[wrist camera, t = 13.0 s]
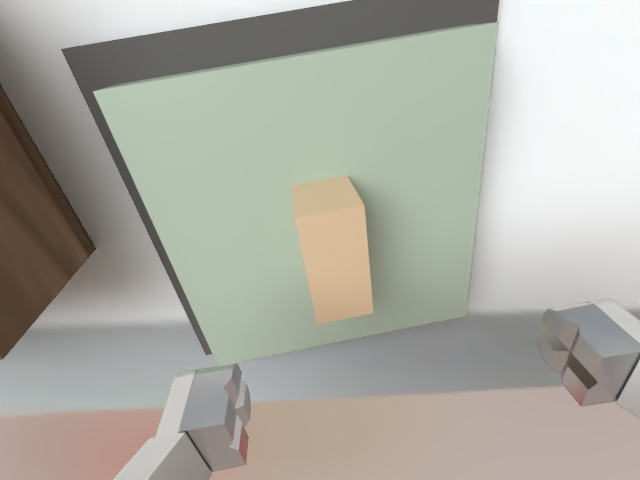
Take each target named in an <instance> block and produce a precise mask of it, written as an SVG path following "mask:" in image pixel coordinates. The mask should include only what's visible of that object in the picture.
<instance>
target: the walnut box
mask: <svg viewBox="0 0 640 480" xmlns="http://www.w3.org/2000/svg"><path fill="white" fill-rule="evenodd" d="M95 249H96V248H95V247H94V245H93V243H92V241H91V240H90V238H89V236H88V235H87V233H86V231H85V229H84V228H83V226H82V224H81V223H80V221H79V219H78V217H77V216H76V214H75V212H74V211H73V209H72V207H71V205H70V204H69V202H68V200H67V199H66V197H65V195H64V193H63V192H62V190H61V188H60V187H59V185H58V183H57V181H56V180H55V178H54V176H53V175H52V173H51V171H50V169H49V168H48V166H47V164H46V163H45V161H44V159H43V157H42V156H41V154H40V152H39V151H38V149H37V147H36V145H35V144H34V142H33V140H32V139H31V137H30V135H29V133H28V132H27V130H26V128H25V127H24V125H23V123H22V121H21V120H20V118H19V116H18V115H17V113H16V111H15V109H14V108H13V106H12V104H11V103H10V101H9V99H8V97H7V96H6V94H5V92H4V91H3V89H2V87H1V85H0V360H1V359H4V357H5V356H6V355H7V354H8V353H9V351H10V350H11V349H12V348H13V347H14V345H15V344H16V343H17V342H18V341H19V339H20V338H21V337H22V336H23V335H24V334H25V332H26V331H27V330H28V329H29V328H30V326H31V325H32V324H33V323H34V322H35V320H36V319H37V318H38V317H39V316H40V314H41V313H42V312H43V311H44V310H45V308H46V307H47V306H48V305H49V304H50V303H51V301H52V300H53V299H54V298H55V297H56V295H57V294H58V293H59V292H60V291H61V289H62V288H63V287H64V286H65V285H66V283H67V282H68V281H69V280H70V279H71V277H72V276H73V275H74V274H75V273H76V272H77V270H78V269H79V268H80V267H81V266H82V264H83V263H84V262H85V261H86V260H87V258H88V257H89V256H90V255H91V254H92V252H93V251H94V250H95Z"/></svg>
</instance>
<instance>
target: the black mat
mask: <svg viewBox="0 0 640 480" xmlns="http://www.w3.org/2000/svg"><path fill="white" fill-rule="evenodd" d="M498 4H499V0H352V1H346V2H340V3H334V4H328V5H322V6H316V7H310V8H304V9H298V10H292V11H286V12H280V13H274V14H268V15H262V16H256V17H250V18H244V19H238V20H232V21H226V22H220V23H214V24H208V25H202V26H196V27H190V28H185V29H179V30H173V31H167V32H161V33H155V34H149V35H143V36H137V37H131V38H125V39H119V40H113V41H107V42H101V43H95V44H89V45H83V46H77V47H71V48H65V49H61V50H62V52H63V54H64V56H65V58H66V60H67V62H68V64H69V67H70V69H71V71H72V73H73V75H74V77H75V79H76V81H77V83H78V86H79V88H80V90H81V92H82V94H83V96H84V98H85V100H86V102H87V105H88V107H89V109H90V111H91V113H92V115H93V117H94V119H95V122H96V124H97V126H98V128H99V130H100V132H101V134H102V136H103V138H104V141H105V143H106V145H107V147H108V149H109V151H110V153H111V155H112V157H113V160H114V162H115V164H116V166H117V168H118V170H119V172H120V174H121V176H122V179H123V181H124V183H125V185H126V187H127V189H128V191H129V193H130V195H131V198H132V200H133V202H134V204H135V206H136V208H137V210H138V212H139V214H140V217H141V219H142V221H143V223H144V225H145V227H146V229H147V231H148V233H149V236H150V238H151V240H152V242H153V244H154V246H155V248H156V250H157V252H158V255H159V257H160V259H161V261H162V263H163V265H164V267H165V269H166V271H167V274H168V276H169V278H170V280H171V282H172V284H173V286H174V288H175V291H176V293H177V295H178V297H179V299H180V301H181V303H182V305H183V307H184V310H185V312H186V314H187V316H188V318H189V320H190V322H191V324H192V326H193V329H194V331H195V333H196V335H197V337H198V339H199V341H200V343H201V345H202V348H203V350H204V352H205V354H206V355H209V354H212V352H211V350H210V347H209V345H208V343H207V341H206V339H205V336H204V334H203V332H202V330H201V328H200V326H199V323H198V321H197V319H196V317H195V315H194V312H193V310H192V308H191V306H190V304H189V301H188V299H187V297H186V295H185V293H184V290H183V288H182V286H181V284H180V282H179V279H178V277H177V275H176V273H175V271H174V269H173V266H172V264H171V262H170V260H169V258H168V255H167V253H166V251H165V249H164V247H163V244H162V242H161V240H160V238H159V236H158V233H157V231H156V229H155V227H154V225H153V222H152V220H151V218H150V216H149V214H148V211H147V209H146V207H145V205H144V203H143V201H142V198H141V196H140V194H139V192H138V190H137V187H136V185H135V183H134V181H133V179H132V176H131V174H130V172H129V170H128V168H127V165H126V163H125V161H124V159H123V157H122V154H121V152H120V150H119V148H118V146H117V143H116V141H115V139H114V137H113V135H112V133H111V130H110V128H109V126H108V124H107V122H106V119H105V117H104V115H103V113H102V111H101V108H100V106H99V104H98V102H97V100H96V97H95V95H94V93H93V91H96V90H100V89H103V88H107V87H110V86H114V85H117V84H122V83H128V82H134V81H140V80H145V79H151V78H157V77H163V76H169V75H175V74H181V73H187V72H192V71H198V70H204V69H210V68H216V67H222V66H228V65H233V64H239V63H245V62H251V61H257V60H263V59H269V58H275V57H280V56H286V55H292V54H298V53H304V52H310V51H316V50H321V49H327V48H333V47H339V46H345V45H351V44H357V43H363V42H368V41H374V40H380V39H386V38H392V37H398V36H404V35H410V34H415V33H421V32H427V31H433V30H439V29H445V28H451V27H456V26H462V25H471V24H483V23H495V22H497V13H498Z"/></svg>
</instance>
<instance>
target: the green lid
mask: <svg viewBox="0 0 640 480" xmlns="http://www.w3.org/2000/svg"><path fill="white" fill-rule="evenodd" d="M497 30H498V22H495V23H483V24H471V25H462V26H456V27H451V28H445V29H439V30H433V31H427V32H421V33H415V34H410V35H404V36H398V37H392V38H386V39H380V40H374V41H368V42H363V43H357V44H351V45H345V46H339V47H333V48H327V49H321V50H316V51H310V52H304V53H298V54H292V55H286V56H280V57H275V58H269V59H263V60H257V61H251V62H245V63H239V64H233V65H228V66H222V67H216V68H210V69H204V70H198V71H192V72H187V73H181V74H175V75H169V76H163V77H157V78H151V79H145V80H140V81H134V82H128V83H122V84H117V85H114V86H110V87H107V88H103V89H100V90H96V91H93V93H94V95H95V97H96V100H97V102H98V104H99V106H100V108H101V111H102V113H103V115H104V117H105V119H106V122H107V124H108V126H109V128H110V130H111V133H112V135H113V137H114V139H115V141H116V143H117V146H118V148H119V150H120V152H121V154H122V157H123V159H124V161H125V163H126V165H127V168H128V170H129V172H130V174H131V176H132V179H133V181H134V183H135V185H136V187H137V190H138V192H139V194H140V196H141V198H142V201H143V203H144V205H145V207H146V209H147V211H148V214H149V216H150V218H151V220H152V222H153V225H154V227H155V229H156V231H157V233H158V236H159V238H160V240H161V242H162V244H163V247H164V249H165V251H166V253H167V255H168V258H169V260H170V262H171V264H172V266H173V269H174V271H175V273H176V275H177V277H178V279H179V282H180V284H181V286H182V288H183V290H184V293H185V295H186V297H187V299H188V301H189V304H190V306H191V308H192V310H193V312H194V315H195V317H196V319H197V321H198V323H199V326H200V328H201V330H202V332H203V334H204V336H205V339H206V341H207V343H208V345H209V347H210V350H211V352H212V354H213V356H214V358H215V361H216V363H217V365H218V366H221V365H226V364H231V363H236V362H241V361H246V360H251V359H256V358H261V357H266V356H271V355H276V354H281V353H286V352H291V351H296V350H301V349H306V348H311V347H316V346H320V345H325V344H330V343H335V342H340V341H345V340H350V339H355V338H360V337H365V336H370V335H375V334H380V333H385V332H390V331H395V330H400V329H405V328H410V327H415V326H420V325H425V324H430V323H435V322H440V321H445V320H450V319H455V318H460V317H464V316H466V312H467V303H468V294H469V285H470V276H471V267H472V258H473V249H474V239H475V230H476V221H477V212H478V203H479V194H480V185H481V176H482V166H483V157H484V148H485V139H486V130H487V121H488V112H489V103H490V94H491V84H492V75H493V66H494V57H495V48H496V39H497Z"/></svg>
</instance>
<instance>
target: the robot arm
mask: <svg viewBox="0 0 640 480" xmlns="http://www.w3.org/2000/svg"><path fill="white" fill-rule="evenodd" d="M542 320H543V322H544V323H545V324H546V325H545V326H544V327H543V328H542V329H541V330H540V331H539V333H538V337H537V344H538V349H539V352H540V354H541V356H542V358H543V359H544V361H545V362H546V363H547V365H548V366H549V367H550V368H552V369H553V370H555V371H557V372H559V373H561V375H562V384H563V385H564V386H565V387H566V389H567V390H568V391H569V392H570V394H571V395H572V396H573V397H574V398H575V400H576V401H577V402H578V403H579V405H580V406H588V405H595V404H601V403H608V402H615V401H617V402H616V404H618V405H619V406H621V407H622V408H624V409H626V410H627V411H629V412H630V413H632V414H633V415H635V416H637V417H638V418H640V321H639V320H638V319H637V318H635V317H634V316H633V315H632V314H630V313H629V312H628V311H627V310H625V309H624V308H623V307H622V306H620V305H619V304H618V303H617V302H615V301H613V300H610V299H603V300H597V301H591V302H586V303H585V302H583V303H578V304H573V305H567V306H562V307H557V308H551V309H548V310H547V311H546V312H545V313H544V315H543V319H542ZM250 413H251V403H250V394H249V389H248V386H247V384H246V382H244V381H242V380H241V370H240V368H239V366H238V364H232V365H225V366H218V367H212V368H205V369H198V370H192V371H186V372H180V373H178V374H177V376H176V377H175V378H174V380H173V384H172V387H171V390H170V393H169V396H168V399H167V402H166V406H165V409H164V412H163V415H162V418H161V421H160V424H159V427H158V431H157V434H156V437H154V438H149V439H148V440H147V442H146V443H145V444H144V445H143V446H142V447H141V448H140V450H139V451H138V452H137V453H136V454H135V455H134V457H133V458H132V459H131V460H130V461H129V462H128V463H127V464H126V465H125V466H124V468H123V469H122V470H121V471H120V472H119V473H118V474H117V476H116V477H115V478H114V479H113V480H209V479H210V477H211V475H212V473H211V472H214V471H218V470H224V469H229V468H234V467H238V466H243V465H246V460H247V449H248V438H249V437H248V435H247V433H246V431H245V428H244V427H245V426H246V425H247V423H248V422H249V420H250Z"/></svg>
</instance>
